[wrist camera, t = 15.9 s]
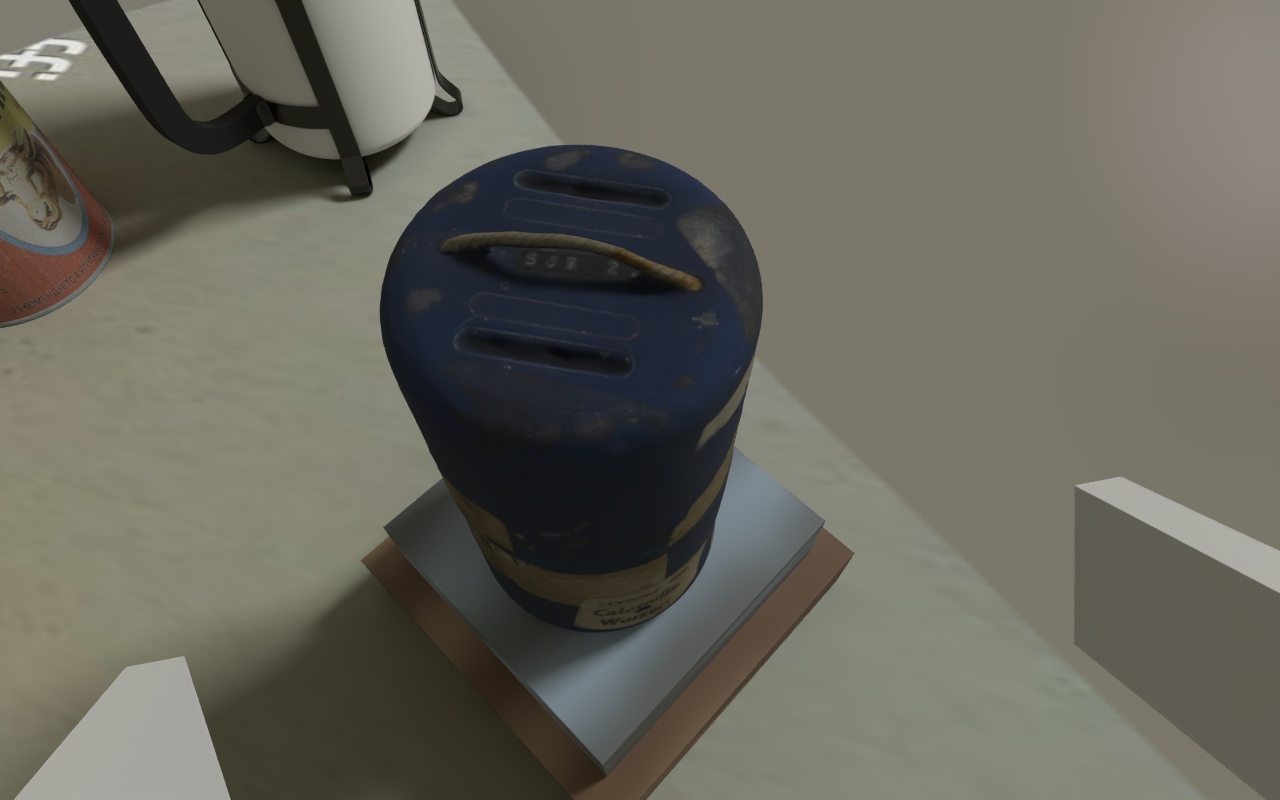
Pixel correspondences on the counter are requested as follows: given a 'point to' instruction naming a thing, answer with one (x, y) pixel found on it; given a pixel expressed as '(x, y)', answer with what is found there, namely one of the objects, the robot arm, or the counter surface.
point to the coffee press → (294, 76)
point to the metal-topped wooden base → (616, 634)
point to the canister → (578, 371)
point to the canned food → (43, 222)
